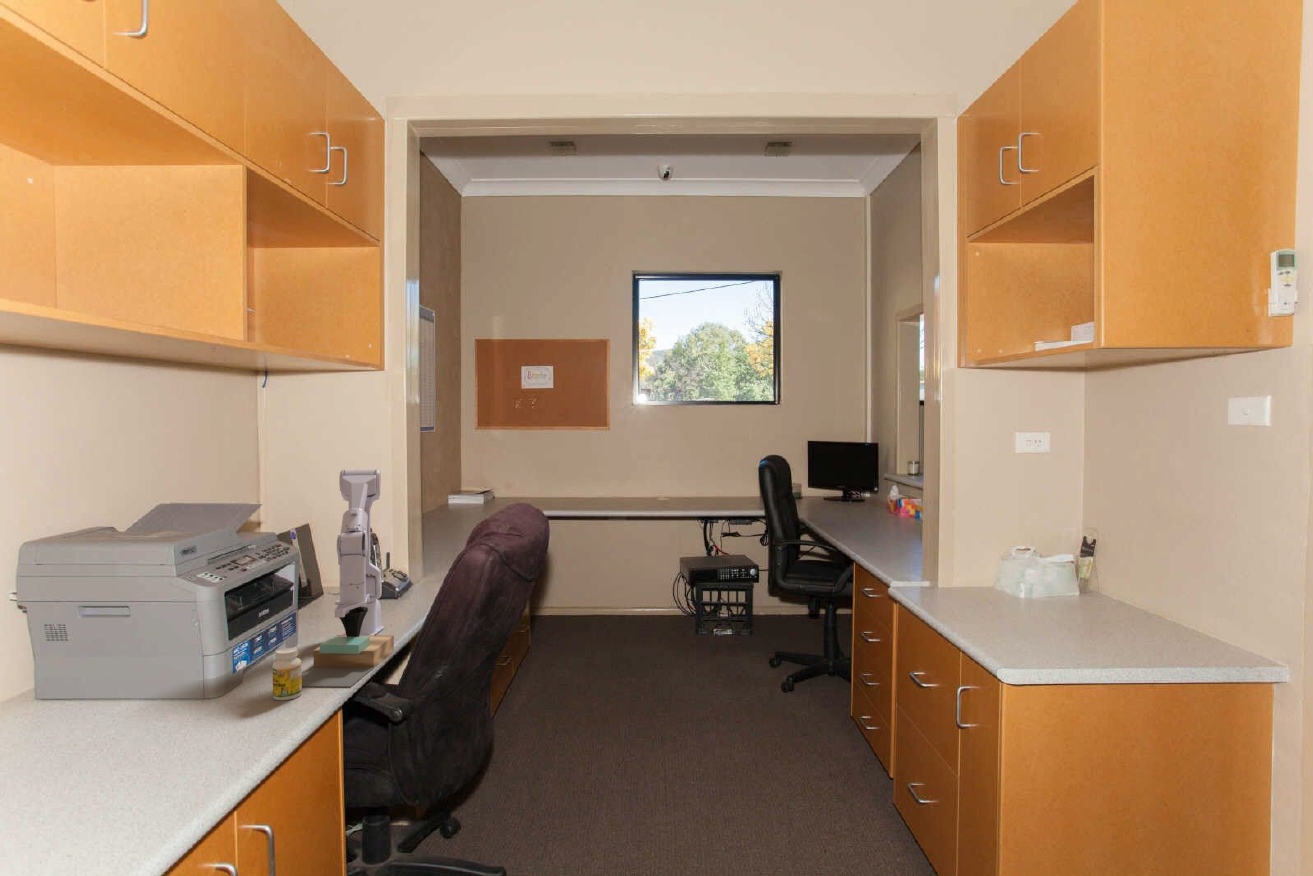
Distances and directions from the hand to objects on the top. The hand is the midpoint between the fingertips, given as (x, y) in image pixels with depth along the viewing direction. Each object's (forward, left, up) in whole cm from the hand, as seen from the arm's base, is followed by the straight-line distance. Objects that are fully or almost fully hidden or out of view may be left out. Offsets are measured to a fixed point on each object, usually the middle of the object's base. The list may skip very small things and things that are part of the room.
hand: (353, 639), depth 172 cm
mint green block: (+4, 0, -1) cm, 4 cm away
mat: (+11, 0, -5) cm, 12 cm away
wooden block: (-1, 0, -5) cm, 5 cm away
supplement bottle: (+22, -4, -5) cm, 23 cm away
